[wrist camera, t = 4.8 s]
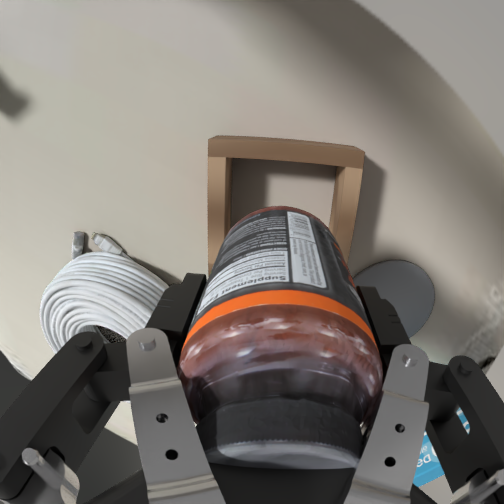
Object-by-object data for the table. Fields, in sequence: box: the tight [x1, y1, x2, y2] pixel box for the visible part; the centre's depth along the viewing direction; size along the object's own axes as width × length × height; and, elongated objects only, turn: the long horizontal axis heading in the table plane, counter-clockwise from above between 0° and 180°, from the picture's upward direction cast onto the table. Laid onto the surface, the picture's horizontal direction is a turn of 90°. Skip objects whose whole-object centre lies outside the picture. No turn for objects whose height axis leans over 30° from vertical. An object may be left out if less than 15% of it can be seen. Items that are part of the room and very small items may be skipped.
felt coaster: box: [352, 260, 435, 338], centre depth 28 cm, size 10×10×1 cm
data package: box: [413, 408, 470, 487], centre depth 28 cm, size 12×4×12 cm, turn 137°
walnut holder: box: [208, 136, 365, 275], centre depth 23 cm, size 10×10×3 cm
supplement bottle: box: [177, 206, 383, 469], centre depth 11 cm, size 6×6×11 cm
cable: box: [40, 232, 169, 403], centre depth 29 cm, size 18×18×6 cm
